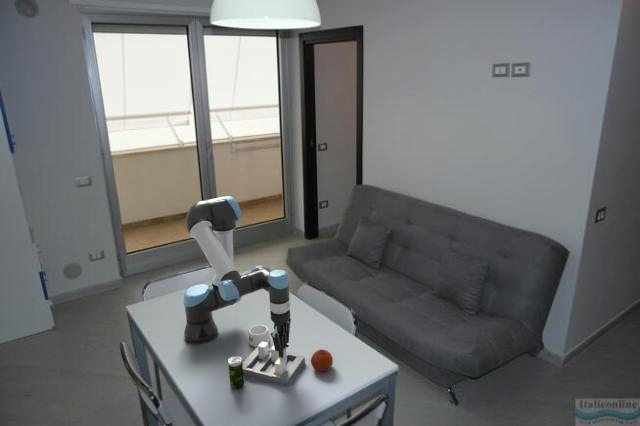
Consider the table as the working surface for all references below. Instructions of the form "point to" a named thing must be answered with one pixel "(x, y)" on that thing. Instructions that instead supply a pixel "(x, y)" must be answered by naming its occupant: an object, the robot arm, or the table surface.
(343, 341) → the table surface
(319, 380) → the table surface
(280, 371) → the tab
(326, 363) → the fruit
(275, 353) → the white cuboid
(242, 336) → the table surface
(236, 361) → the beer can
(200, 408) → the table surface
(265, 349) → the white rectangular block
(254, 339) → the mug
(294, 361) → the switch board
